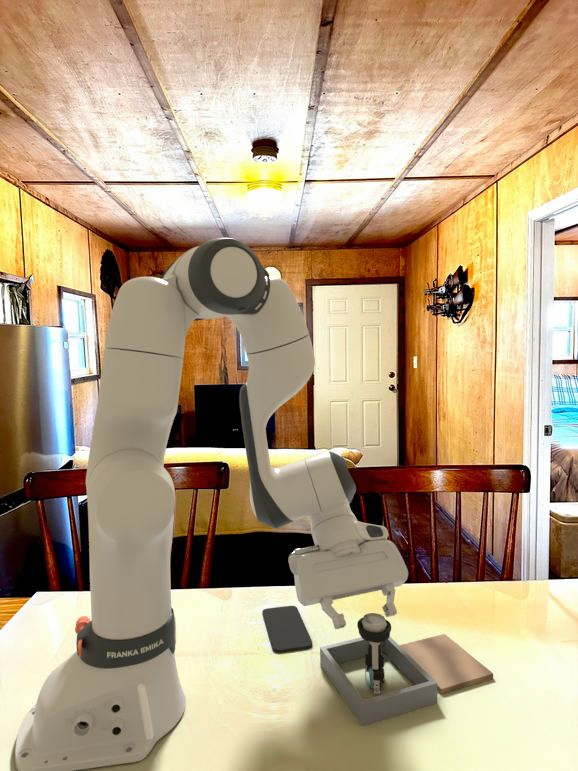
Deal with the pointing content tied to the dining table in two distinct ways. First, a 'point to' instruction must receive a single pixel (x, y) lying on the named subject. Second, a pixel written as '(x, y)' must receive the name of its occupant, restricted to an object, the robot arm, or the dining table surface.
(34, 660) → the dining table surface
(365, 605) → the dining table surface
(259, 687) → the dining table surface
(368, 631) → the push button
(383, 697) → the gray rectangular frame
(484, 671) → the walnut board
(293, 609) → the phone
